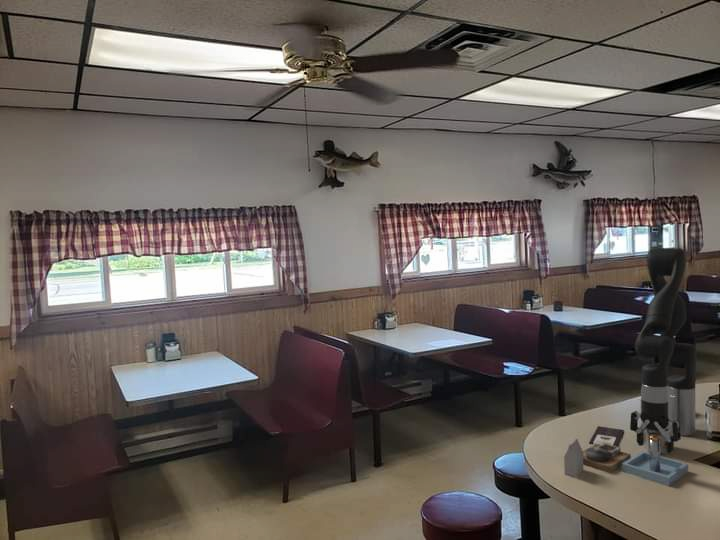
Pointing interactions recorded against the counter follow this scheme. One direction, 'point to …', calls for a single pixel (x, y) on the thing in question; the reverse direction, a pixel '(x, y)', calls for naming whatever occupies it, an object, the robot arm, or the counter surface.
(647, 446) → the coffee box
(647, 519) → the counter surface
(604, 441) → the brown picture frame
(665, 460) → the tray
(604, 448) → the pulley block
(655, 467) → the lock pin
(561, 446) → the counter surface
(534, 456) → the counter surface
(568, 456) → the grey house block
